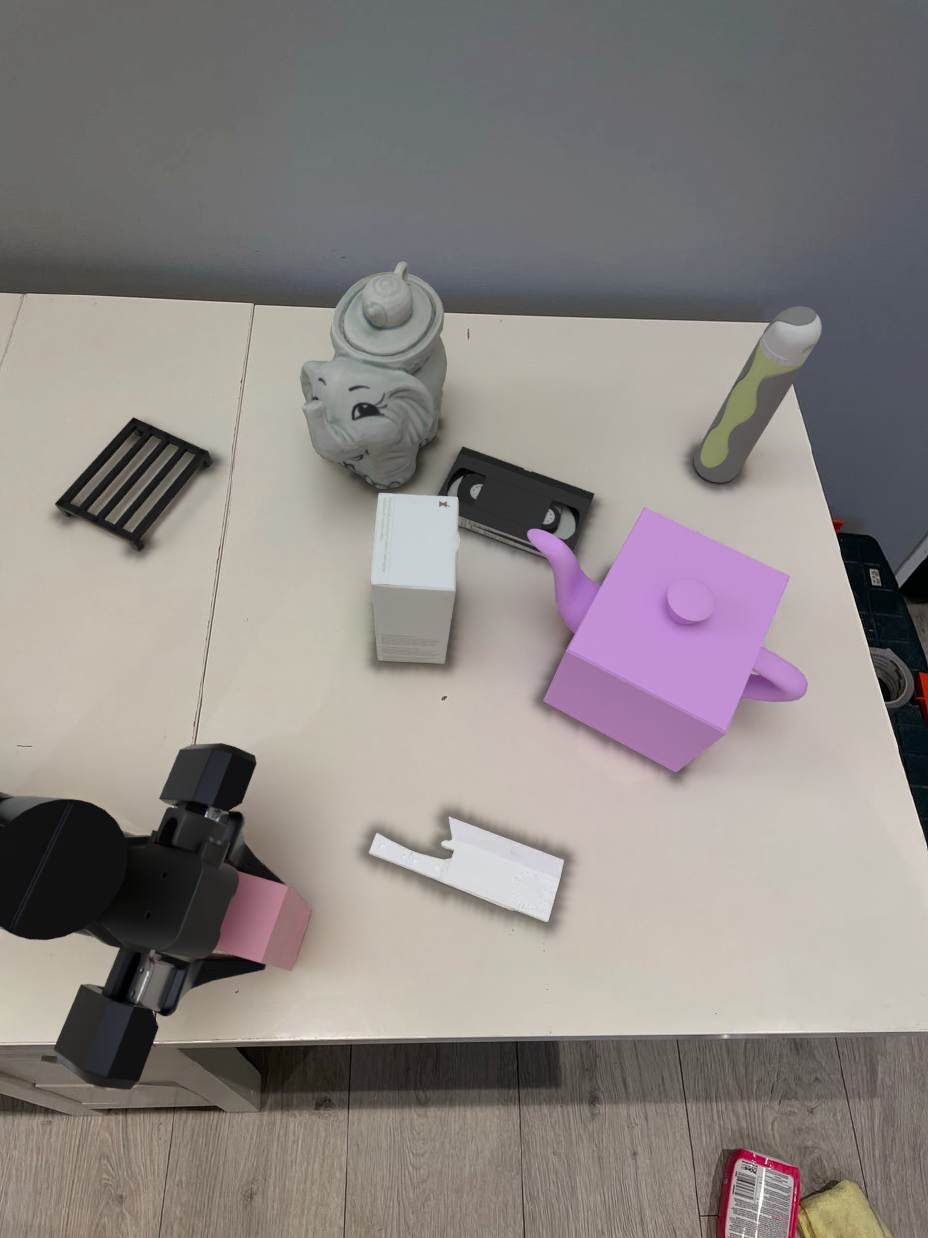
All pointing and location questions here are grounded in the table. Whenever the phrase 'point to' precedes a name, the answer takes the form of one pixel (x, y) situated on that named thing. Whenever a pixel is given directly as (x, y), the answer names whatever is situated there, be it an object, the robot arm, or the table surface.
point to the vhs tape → (513, 501)
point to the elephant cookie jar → (379, 378)
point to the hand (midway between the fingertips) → (274, 928)
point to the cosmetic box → (414, 576)
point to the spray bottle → (757, 393)
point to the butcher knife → (485, 868)
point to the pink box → (264, 922)
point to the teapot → (666, 639)
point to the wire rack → (133, 481)
